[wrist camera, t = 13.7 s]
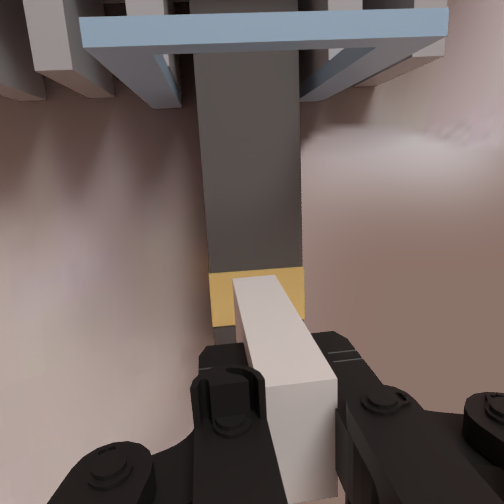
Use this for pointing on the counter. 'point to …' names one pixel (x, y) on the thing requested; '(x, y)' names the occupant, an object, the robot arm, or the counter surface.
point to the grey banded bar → (250, 165)
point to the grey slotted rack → (161, 3)
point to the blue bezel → (260, 44)
